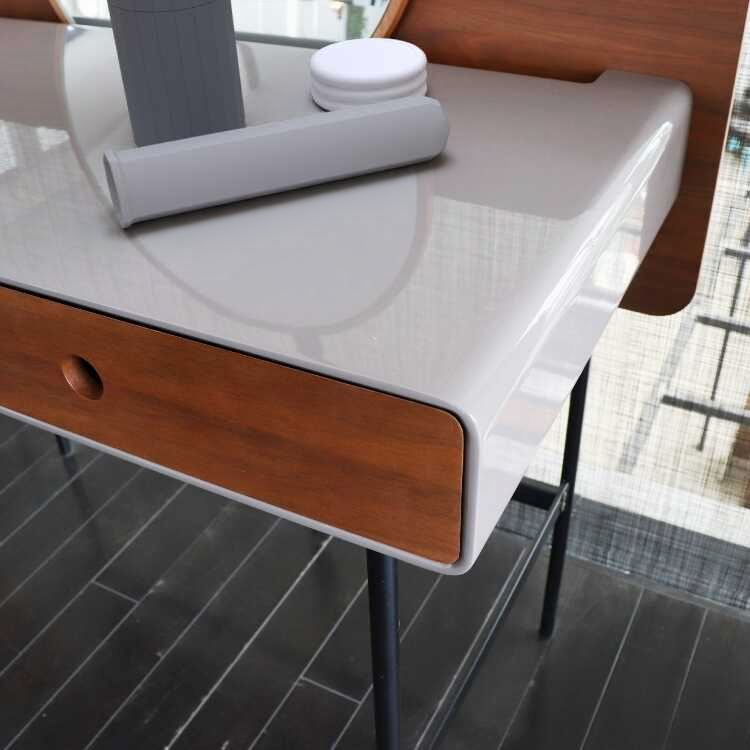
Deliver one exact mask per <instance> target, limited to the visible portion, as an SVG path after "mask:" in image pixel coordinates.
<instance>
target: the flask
mask: <svg viewBox="0 0 750 750" xmlns="http://www.w3.org/2000/svg"><path fill="white" fill-rule="evenodd" d="M106 5H107V8H108V9H107V10H108V15H109V19H110V24H111V29H112V34H113V39H114V44H115V50H116V55H117V60H118V65H119V70H120V75H121V81H122V85H123V86H122V87H123V92H124V96H125V101H126V102H125V103H126V106H127V111H128V117H129V121H130V122H129V123H130V126H131V132H132V134H133V138H134V142H135V144H136V146H137V147H138V148H139V147H144V146H150V145H155V144H160V143H166V142H171V141H176V140H182V139H187V138H192V137H198V136H203V135H208V134H214V133H219V132H224V131H230V130H235V129H240V128H246V127H247V126H246V113H245V105H244V97H243V89H242V80H241V72H240V64H239V57H238V56H239V55H238V48H237V40H236V39H237V38H236V30H235V22H234V13H233V5H232V0H106Z"/></svg>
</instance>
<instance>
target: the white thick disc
mask: <svg viewBox="0 0 750 750" xmlns="http://www.w3.org/2000/svg"><path fill="white" fill-rule="evenodd" d="M427 64H428V59H427V55H426V53H425V52H424V51H423V50H422V49H421V48H420V47H418V46H417V45H415V44H412V43H410V42H407V41H405V40H399V39H393V38H383V37H365V38H354V39H348V40H343V41H342V40H341V41H337V42H334V43H331V44H329V45H326V46H324V47H322V48H320V49H319V50H317V51H315V53H314V54H313V55H312V56H311V58H310V59H309V63H308V69H309V72H310V76H309V82H310V84H311V89H310V94H311V96H312V100H313V102H315V103H316V104H317V105H318V106H320V107H321V108H322V109H324V110H326V111H328V112H331V111H336V110H342V109H347V108H352V107H358V106H363V105H368V104H374V103H379V102H384V101H390V100H395V99H400V98H405V97H411V96H416V95H423V96H426V94H427V92H428V83H427V77H428V72H427V68H426V67H427Z"/></svg>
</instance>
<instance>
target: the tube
mask: <svg viewBox="0 0 750 750" xmlns="http://www.w3.org/2000/svg"><path fill="white" fill-rule="evenodd" d="M451 128H452V124H451V122H450V121H449V119H448V117H447V115H446V113H445V111H444V109H443V107H442V105H441V103H440V101H439V100H438V99H435V98H432V97H429V96H426V95H425V96H423V95H416V96H411V97H405V98H400V99H395V100H390V101H384V102H379V103H374V104H368V105H363V106H358V107H352V108H347V109H342V110H336V111H326V112H320V113H315V114H310V115H304V116H299V117H294V118H289V119H284V120H278V121H272V122H267V123H262V124H257V125H251V126H246V128H240V129H235V130H230V131H224V132H219V133H214V134H208V135H203V136H198V137H192V138H187V139H182V140H176V141H171V142H166V143H160V144H155V145H150V146H144V147H139V146H138V147H135V148H128V149H124V150H119V151H118V150H116V151H114V150H113V149H112V148H109V149H104V150H103V153H102V154H103V155H102V164H103V168H104V172H105V178H106V183H107V187H108V191H109V194H110V198H111V199H110V200H111V202H112V206H113V209H114V213H115V217H116V218H117V220H118V223H119V225H120V227H121V229H123V230H125V229H128V228H131V226H132V224H135V223H136V224H137V223H140V222H144V221H145V222H146V221H150V220H155V219H159V218H164V217H169V216H173V215H178V214H184V213H188V212H193V211H197V210H202V209H206V208H211V207H216V206H221V205H226V204H230V203H235V202H240V201H246V200H249V199H250V200H251V199H254V198H259V197H264V196H269V195H274V194H277V193H283V192H287V191H293V190H298V189H303V188H307V187H312V186H316V185H322V184H326V183H331V182H335V181H340V180H345V179H350V178H354V177H355V178H356V177H358V176H365V175H368V174H373V173H377V172H382V171H387V170H392V169H397V168H401V167H407V166H411V165H412V166H413V165H416V164H421V163H427V162H430V161H432V159H434V158H435V157H436V156H438V155H439V154H441V153H442V152H443V151H444V150H445V149H446V147H447V145H448V141H449V136H450V132H451Z"/></svg>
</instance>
